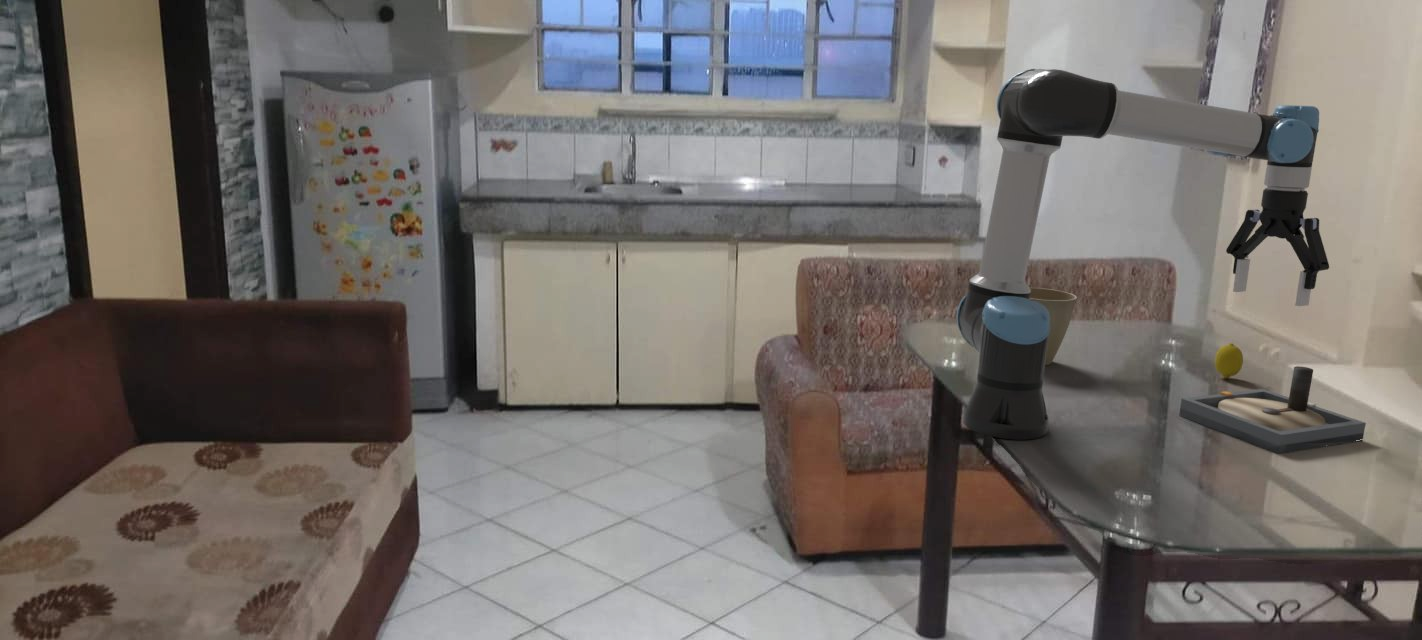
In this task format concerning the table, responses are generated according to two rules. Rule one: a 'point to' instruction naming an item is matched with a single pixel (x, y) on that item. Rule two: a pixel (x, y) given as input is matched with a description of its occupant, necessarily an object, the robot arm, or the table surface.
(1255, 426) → the dial frame
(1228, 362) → the lemon
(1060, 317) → the plant pot
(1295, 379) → the dial
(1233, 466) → the table surface
